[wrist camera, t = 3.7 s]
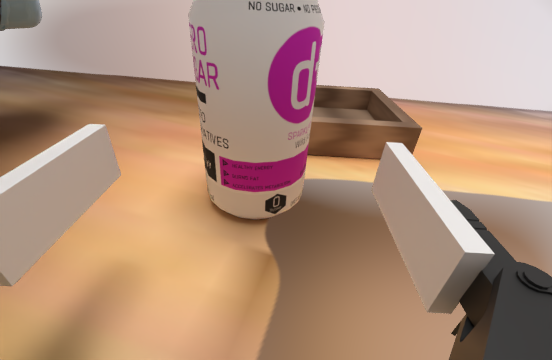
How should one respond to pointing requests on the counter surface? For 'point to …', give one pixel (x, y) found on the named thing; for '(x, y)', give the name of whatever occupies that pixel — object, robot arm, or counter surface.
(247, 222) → the counter surface
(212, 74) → the supplement can
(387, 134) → the tray
